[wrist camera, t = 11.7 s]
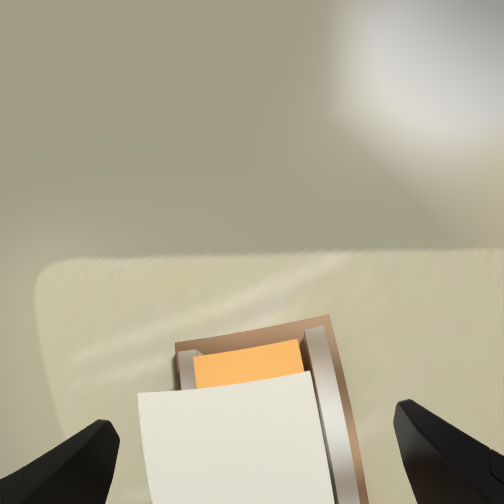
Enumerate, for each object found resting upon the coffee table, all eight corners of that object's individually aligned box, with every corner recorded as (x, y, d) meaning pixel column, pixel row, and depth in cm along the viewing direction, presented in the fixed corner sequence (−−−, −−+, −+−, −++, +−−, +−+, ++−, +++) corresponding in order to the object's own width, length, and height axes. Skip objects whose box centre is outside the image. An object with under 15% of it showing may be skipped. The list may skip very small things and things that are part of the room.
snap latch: (303, 392, 15) (307, 385, 11) (220, 405, 15) (198, 402, 11) (296, 356, 16) (297, 338, 12) (215, 370, 16) (193, 356, 12)
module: (312, 465, 13) (339, 531, 4) (236, 476, 13) (161, 543, 4) (299, 395, 15) (310, 370, 6) (225, 407, 15) (137, 393, 6)
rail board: (375, 594, 7) (384, 611, 5) (231, 614, 8) (223, 633, 5) (327, 319, 18) (331, 304, 15) (180, 346, 18) (164, 335, 16)
